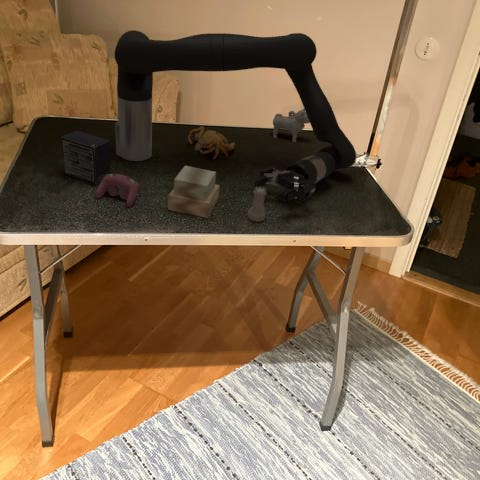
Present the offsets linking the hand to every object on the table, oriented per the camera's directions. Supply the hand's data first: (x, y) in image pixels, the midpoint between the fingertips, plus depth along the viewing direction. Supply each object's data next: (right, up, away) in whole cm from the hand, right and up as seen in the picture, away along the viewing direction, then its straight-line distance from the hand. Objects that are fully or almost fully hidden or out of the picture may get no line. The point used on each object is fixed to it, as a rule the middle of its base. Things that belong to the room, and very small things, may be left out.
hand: (269, 191), depth 121 cm
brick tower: (-19, -3, +2) cm, 19 cm away
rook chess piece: (-3, -7, 0) cm, 7 cm away
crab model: (-16, +16, +31) cm, 38 cm away
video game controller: (-37, -2, +1) cm, 37 cm away
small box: (-47, +5, +9) cm, 48 cm away
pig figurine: (+9, +22, +45) cm, 52 cm away
